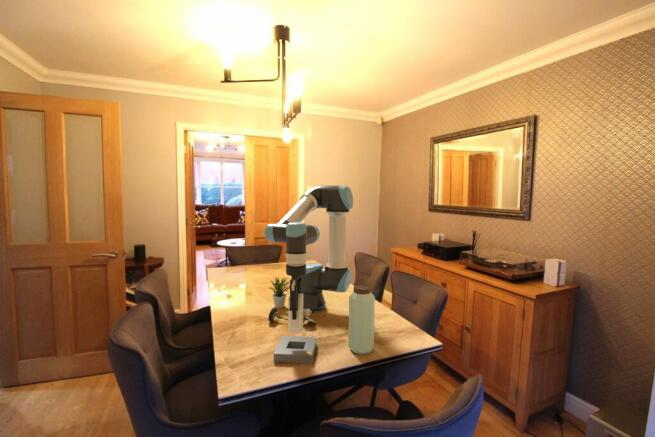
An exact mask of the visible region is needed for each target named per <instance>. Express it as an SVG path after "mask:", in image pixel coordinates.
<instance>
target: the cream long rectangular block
mask: <svg viewBox="0 0 655 437" xmlns="http://www.w3.org/2000/svg"><path fill="white" fill-rule="evenodd" d="M287 302H288V304H287V311H288V312H287V313H288V314H287V319H288V320H287V321H288V322H287V324H288V325H287V326H288V327H287V328H288V330H287V331H288V334H297V335H298V334H299V335H301V334H302V333H303V331H304V323H303V294H298V310H299V321H298V328H294V327H291V311H289V309H290V294H289V295H288V297H287Z"/></svg>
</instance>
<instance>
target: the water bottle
mask: <svg viewBox="0 0 655 437" xmlns="http://www.w3.org/2000/svg"><path fill="white" fill-rule="evenodd" d="M371 289H372V287H371V286H369V285H366V284H355V285H354V286H353V291H352V293H351V294H350V295H349V296H348V301H349V302H348V304H349V305H348V347H349V349H350V350H351V351H352V352H353V353H354V354H359V355H366V354H370V353H371V352H372V351H373V349H374V347H375V344H374V342H375V312H376V310H375V309H376V308H375V306H376V304H375V303H376V300H375V299H376V297H375V295H374V294H373V293H372V290H371Z"/></svg>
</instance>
